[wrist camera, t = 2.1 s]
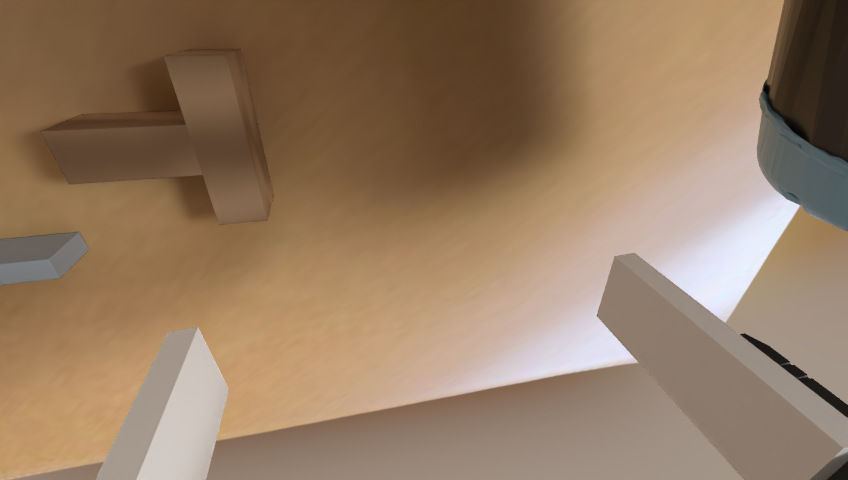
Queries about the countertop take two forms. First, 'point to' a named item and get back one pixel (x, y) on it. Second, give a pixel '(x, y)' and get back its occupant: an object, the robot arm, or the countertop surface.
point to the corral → (39, 257)
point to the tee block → (179, 138)
